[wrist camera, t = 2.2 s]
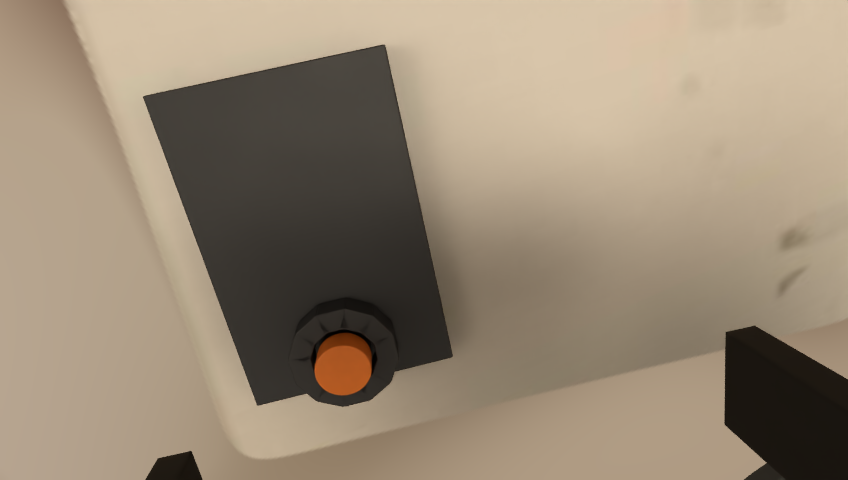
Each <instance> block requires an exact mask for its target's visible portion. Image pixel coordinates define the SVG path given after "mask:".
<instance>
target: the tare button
mask: <svg viewBox="0 0 848 480" xmlns="http://www.w3.org/2000/svg"><path fill="white" fill-rule="evenodd" d="M314 372H315V377H316V380H317V382H318V383H319V385H320V386H321V387H322V388H323V389H324V390H326V391H327V392H329V393H332V394H335V395H350V394H353V393H356V392H358V391H359V390H361V389H362V388H363V387H364V386H365V385H366V384H367V383H368V381H369V379H370V377H371V373H372V355H371V350H370V347H369V345H368V344H367V342H366V341H365V340H364V339H362V338H361V337H359V336H357V335H355V334H352V333H338V334H335V335H332V336H330V337H329V338H327V339H326V340H325V341H324V342H323V343H322V344H321V346H320V347H319V350H318V353H317V358H316V363H315V369H314Z"/></svg>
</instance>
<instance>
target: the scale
mask: <svg viewBox="0 0 848 480" xmlns="http://www.w3.org/2000/svg"><path fill="white" fill-rule="evenodd" d="M143 98H144V101H145V104H146V106H147V109H148V112H149V114H150V117H151V120H152V122H153V125H154V128H155V131H156V133H157V136H158V139H159V141H160V144H161V147H162V149H163V152H164V155H165V158H166V160H167V163H168V166H169V168H170V171H171V174H172V176H173V179H174V182H175V185H176V187H177V190H178V193H179V195H180V198H181V201H182V203H183V206H184V209H185V212H186V214H187V217H188V220H189V222H190V225H191V228H192V230H193V233H194V236H195V239H196V241H197V244H198V247H199V249H200V252H201V255H202V257H203V260H204V263H205V266H206V268H207V271H208V274H209V276H210V279H211V282H212V284H213V287H214V290H215V293H216V295H217V298H218V301H219V303H220V306H221V309H222V311H223V314H224V317H225V319H226V322H227V325H228V328H229V330H230V333H231V336H232V338H233V341H234V344H235V346H236V349H237V352H238V355H239V357H240V360H241V363H242V365H243V368H244V371H245V373H246V376H247V379H248V382H249V384H250V387H251V390H252V392H253V395H254V398H255V400H256V403H257V405H262V404H266V403H270V402H274V401H278V400H282V399H286V398H290V397H295V396H299V395H303V394H308V395H310V396H311V397H312V398H313V399H314V400H316V401H318V402H322V403H327V404H332V405H337V406H342V407H344V406H349V405H353V404H357V403H361V402H365V401H369V400H370V399H372V398H374V397H375V396H376V395H377V394H378V393H379V392H381V391H382V390H383V389H384V388H385V387H386V386H387V385H389V384H390V382H391V381H392V378H393V375H394V372H395V371H399V370H403V369H407V368H411V367H415V366H419V365H423V364H427V363H431V362H435V361H439V360H443V359H447V358H451V357H453V355H452V350H451V346H450V341H449V336H448V332H447V327H446V323H445V318H444V313H443V309H442V304H441V300H440V295H439V290H438V286H437V281H436V277H435V272H434V268H433V263H432V258H431V254H430V249H429V245H428V240H427V235H426V231H425V226H424V222H423V217H422V212H421V208H420V203H419V199H418V194H417V190H416V185H415V180H414V176H413V171H412V167H411V162H410V157H409V153H408V148H407V144H406V139H405V134H404V130H403V125H402V121H401V116H400V112H399V107H398V102H397V98H396V93H395V89H394V84H393V79H392V75H391V70H390V66H389V61H388V56H387V52H386V47H385V45H379V46H375V47H370V48H365V49H361V50H356V51H351V52H347V53H342V54H337V55H333V56H328V57H323V58H319V59H314V60H309V61H305V62H300V63H295V64H291V65H286V66H281V67H277V68H272V69H267V70H263V71H258V72H253V73H249V74H244V75H239V76H235V77H230V78H226V79H221V80H216V81H212V82H207V83H202V84H198V85H193V86H188V87H184V88H179V89H174V90H170V91H165V92H160V93H156V94H151V95H146V96H144V97H143ZM338 333H352V334H355V335H357V336H359V337H361V338H362V339H364V340H365V341H366V342H367V344H368V345H369V347H370V350H371V355H372V373H371V377H370V379H369V381H368V383H367V384H366V385H365V386H364V387H363V388H362V389H361V390H359V391H358V392H356V393H353V394H350V395H335V394H332V393H329V392H327V391H326V390H324V389H323V388H322V387H321V386H320V385H319V383H318V382H317V380H316V377H315V372H314V369H315V363H316V358H317V353H318V350H319V347H320V346H321V344H322V343H323V342H324V341H325V340H326V339H327V338H329V337H330V336H332V335H335V334H338Z"/></svg>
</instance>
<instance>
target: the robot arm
mask: <svg viewBox="0 0 848 480" xmlns="http://www.w3.org/2000/svg"><path fill="white" fill-rule="evenodd" d="M725 425H726V426H727V427H728V428H729V429H730V430H731V431H732V432H733V433H735V434H736V435H737V436H738V437H739V438H740V439H741V440H742V441H743V442H744V443H746V444H747V445H748V446H749V447H750V448H751V449H752V450H753V451H754V452H756V453H757V454H758V455H759V456H760V457H761V458H762V459H763V460H764V461H765V462H767V463H768V464H769V465H770V466H771V467H772V468H773V469H774V470H775V471H777V472H778V473H779V474H780V475H781V476H782V477H783V478H784V479H785V480H848V379H846V378H844V377H843V376H841V375H839V374H837V373H836V372H834V371H832V370H830V369H829V368H827V367H825V366H823V365H822V364H820V363H818V362H817V361H815V360H813V359H811V358H810V357H808V356H806V355H805V354H803V353H801V352H799V351H797V350H796V349H794V348H792V347H790V346H789V345H787V344H785V343H784V342H782V341H780V340H779V339H777V338H775V337H773V336H772V335H770V334H768V333H766V332H765V331H763V330H761V329H759V328H758V327H756V326H751V327H747V328H742V329H738V330H733V331H729V332H726V346H725ZM146 480H202V477H201V475H200V472H199V469H198V467H197V464H196V462H195V459H194V456H193V454H192V452H191V451H189V452H185V453H180V454H176V455H171V456H167V457H162V458H158V459H157V461H156V463H155V464H154V466H153V468H152V470H151V471H150V473H149V474H148V476H147V478H146Z"/></svg>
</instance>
